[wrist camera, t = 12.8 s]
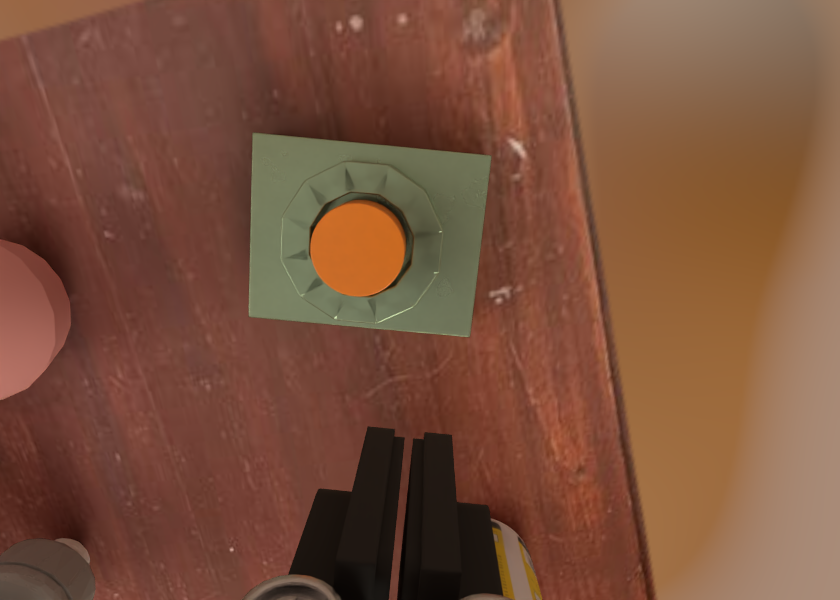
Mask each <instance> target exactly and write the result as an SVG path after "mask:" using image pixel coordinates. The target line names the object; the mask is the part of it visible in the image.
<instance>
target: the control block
mask: <svg viewBox="0 0 840 600" xmlns="http://www.w3.org/2000/svg"><path fill="white" fill-rule="evenodd" d="M491 158H492V156H491V155H484V154H473V153H463V152H452V151H442V150H432V149H421V148H411V147H400V146H390V145H379V144H369V143H359V142H348V141H338V140H327V139H317V138H307V137H296V136H286V135H275V134H265V133H253V134H252V178H251V224H250V270H249V317H254V318H264V319H275V320H286V321H297V322H308V323H319V324H330V325H341V326H352V327H363V328H374V329H385V330H395V331H406V332H417V333H428V334H439V335H450V336H461V337H470V334H471V326H472V317H473V309H474V301H475V292H476V284H477V275H478V267H479V259H480V250H481V242H482V234H483V225H484V217H485V209H486V200H487V192H488V183H489V175H490V167H491ZM352 200H370V201H374V202H377V203H379V204H381V205H383V206H385V207H386V208H388V209H389V210H390V211H391V212H392V213H393V214H394V215H395V216H396V217H397V218H398V220H399V221H400V223H401V225H402V227H403V230H404V233H405V237H406V252H405V257H404V262H403V265H402V268H401V270H400V272H399V274H398V276H397V277H396V279H395V280H394V281H393V282H392V283H391V284H390V285H389V286H388V287H386V288H385V289H384V290H382V291H380V292H378V293H375V294H373V295H369V296H362V297H356V296H348V295H345V294H342V293H339V292H337V291H335V290H334V289H332V288H331V287H329V286H328V285H327V284H326V283H325V282H324V281H323V280H322V279H321V278H320V277H319V275H318V274H317V272H316V270H315V268H314V266H313V263H312V259H311V253H310V244H311V238H312V234H313V231H314V229H315V227H316V225H317V224H318V222H319V221H320V220H321V218H322V217H323V216H324V215H325V214H326V213H328V212H329V211H330V210H332V209H334V208H336V207H337V206H339V205H341V204H343V203H345V202H348V201H352Z"/></svg>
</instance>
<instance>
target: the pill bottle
mask: <svg viewBox="0 0 840 600" xmlns="http://www.w3.org/2000/svg"><path fill="white" fill-rule="evenodd" d="M491 523H492V529H493V535H494V541H495V547H496V553H497V559H498V565H499V571H500V578H501V584H502V590H503V596H505V597H508V598H511V599H514V600H542V596H541V593H540V589H539V585H538V582H537V578H536V574H535V571H534V567H533V564H532V560H531V557H530V554H529V551H528V549H527V547H526V545H525V543H524V542H523V540H522V539H521V538H520V536H519V535H518V534H517V533H516V532H515V531H514V530H513V529H511V528H510V527H509V526H507V525H505V524H504V523H502V522H500V521H497V520H495V519H492V518H491Z"/></svg>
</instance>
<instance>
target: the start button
mask: <svg viewBox="0 0 840 600" xmlns="http://www.w3.org/2000/svg"><path fill="white" fill-rule="evenodd" d="M405 252H406V237H405V233H404V230H403V227H402V225H401V223H400V221H399V220H398V218H397V217H396V216H395V215H394V214H393V213H392V212H391V211H390V210H389V209H388V208H386V207H385V206H383V205H381V204H379V203H377V202H374V201H370V200H352V201H348V202H345V203H343V204H341V205H339V206H337V207H336V208H334V209H332V210H330V211H329V212H328V213H326V214H325V215H324V216H323V217H322V218H321V220H320V221H319V222H318V224H317V225H316V227H315V229H314V231H313V234H312V238H311V244H310V253H311V259H312V263H313V266H314V268H315V270H316V272H317V274H318V275H319V277H320V278H321V279H322V280H323V281H324V282H325V283H326V284H327V285H328V286H329V287H331V288H332V289H334V290H335V291H337V292H339V293H342V294H345V295H348V296H356V297H362V296H369V295H373V294H375V293H378V292H380V291H382V290H384V289H385V288H386V287H388V286H389V285H390V284H391V283H392V282H393V281H394V280H395V279H396V277H397V276H398V274H399V272H400V270H401V268H402V265H403V262H404V257H405Z"/></svg>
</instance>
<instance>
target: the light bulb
mask: <svg viewBox="0 0 840 600" xmlns="http://www.w3.org/2000/svg"><path fill="white" fill-rule="evenodd" d="M89 563H90V557H89V554H88V551H87V550H86V549H85V548H84V546H83V545H82V544H81V543H80V542H78V541H75V540H72V539H66V538H60V539H56V540H49V539H43V538H38V539H28V540H24V541H22V542H19V543H16V544H14V545H13V546H11V547H10V548H9V549H7V550H6V551H5V552H3V553H2V554H1V555H0V600H93V597H94V593H95V577H94V575H93V572H92V570H91V568H90V565H89Z"/></svg>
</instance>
